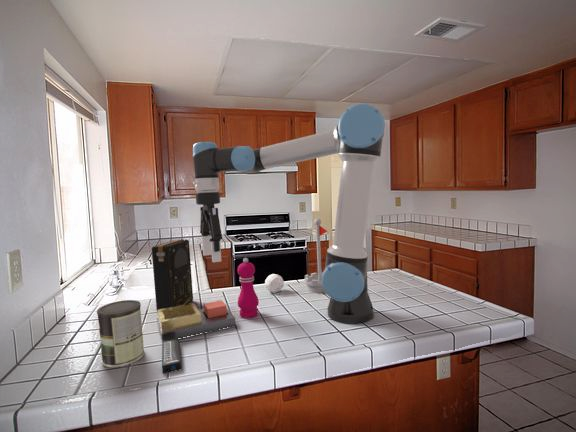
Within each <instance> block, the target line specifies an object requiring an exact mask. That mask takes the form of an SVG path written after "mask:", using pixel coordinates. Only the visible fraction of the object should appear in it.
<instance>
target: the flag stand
mask: <svg viewBox="0 0 576 432" xmlns="http://www.w3.org/2000/svg"><path fill="white" fill-rule="evenodd" d="M313 224H314V225H315V229H316V230H315V232H316V235H315V236H316V255H317V257H316V259H317V262H316V263H317V272H313V273H310V275H309V274H305V275H304V284H305V285H306V289H307V291H308V292H311V293H316V294H318V293H319V294H320V293H321V294H322V293H323V294H325V293H326V292H325V291H324V289H323V287H322V274H323V271H322V254H321V253H322V250H321V236H322V235H323V234H326V233H327V232H328V230H327V229H326V228H324V227H322V226H321V224H322V220H321V218H318V217H317V218H315V219H314V220H313Z"/></svg>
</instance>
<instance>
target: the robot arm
mask: <svg viewBox="0 0 576 432" xmlns="http://www.w3.org/2000/svg"><path fill="white" fill-rule="evenodd" d="M385 124H386V122H385V117H384V116H383V113H381V111H380V110H379V109H378V108H377V107H376V106H374V105H372V104H369V103H357V104H353V105H352V106H349V107H348V108H347V109H346V110H345V111H344V112H343V113H342V114H341V116H340V117H339V122H338V125H335V127H334V129H331V130H327V131H323V132H319V133H315V134H311V135H306V136H303V137H298V138H294V139H290V140H286V141H282V142H278V143H274V144H271V145H267V146H262V147H260V148H254V149H253V148H252V147H251V146H249V145H246V146H245V145H237V146H231V147H230V146H229V147H218V146H217V143H215V142H212V141H201V142H199V141H198V142H196V143H194V144H193V145H192V146H193V147H192V161H193V171H194V181H193V183H192V184H193V185H194V186H195V187H194V188H195V191H196V192H197V193H195V203H196V205H201V206H200V209H199V210H200V227H199V229H200V230H199V233H200V235H201V244H202V255H203V257H204V256H205V257H206V256H211V262H212V263H218V262H219V263H221V262H222V249H221V247H222V246H221V240H223V234H222V229H221V228H222V227H221V222H220V218H219V217H220V216H219V208H218V207H215V205H218V204H220V203H221V195H220V194H221V193H220V192H218V191H220V177H219V175H220V174H219V173H231V172H232V173H234V172H236V173H237V172H238V173H249V174H257V173H260V172H262V171H264V170H269V169H273V168H278V167H282V166H283V167H284V166H286V165H287V166H288V165H292V164H295V163H301V162H305V161H309V160H313V159H318V158H322V157H327V156H332V155H336V154H337V156H338V157H339V159H340V160H341V162H342V163H341V170H340V171H341V172H340V179H339V187H338V188H339V189H338V197H337V198H338V199H337V207H336V214H335V215H336V216H335V223H334V233H333V242H332V245H331V246H329V247H328V248H327V249H326V256H325V257H326V258H325V265H324V266H325V267H324V269H323V271H322V272H323V274H322V287H323V289H324V291H325V293H326V295H327V296H328V297H329V301H328V306H327V316H328V317H329V319H331V320H333V321H335V322H338V323H341V324H342V323H343V324H361V323H366V322H369V321H371V320H372V319H373V318H374V316H375V312H374V311H375V310H374V306H373V304H372V299H371V297H370V295H369V288H368V287H369V286H368V257H369V255H368V253H367V249H366V248H365V246H364V245H365V239H366V238H365V237H366V229H367V228H366V227H367V220H368V213H369V206H370V205H369V204H370V199H371V198H370V195H371V187H372V180H373V175H374V174H373V172H374V164H375V163H376V162H378V161H379V160H380V159H381V155H382V148H383V147H382V146H383V140H384V139H383V138H384V135H385V128H386V125H385Z"/></svg>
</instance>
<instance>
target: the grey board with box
mask: <svg viewBox="0 0 576 432" xmlns="http://www.w3.org/2000/svg"><path fill="white" fill-rule="evenodd" d="M156 322H157V329H159V330H158V332H160V333H159V336H161V337H160V339H161V340H162V341H161V343H162V342H163V341H167V340H172V339H178V338H183V337H187V336H191V335H196V334H200V333H205V332H210V331H215V330H219V329H223V328H227V327H232V326H236V317H235V316H234V315H233V313H232V312H231V311H230V310H229V309H228V308H227V314H226V315H222V316H217V317H212V318H208V317H207V315H206V314H205V313H204V307H203V308H199V309H198V307H197V306H196V304H195V303H193V302H190V303H189V304H186V305H181V306H175V307H170V308H165V309H160V310H158V312H157V317H156ZM232 328H233V327H232ZM227 329H228V328H227ZM223 330H224V329H223ZM219 331H220V330H219ZM215 332H216V331H215ZM210 333H211V332H210Z"/></svg>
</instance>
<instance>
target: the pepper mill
mask: <svg viewBox="0 0 576 432" xmlns="http://www.w3.org/2000/svg"><path fill="white" fill-rule="evenodd" d="M255 273H256V267H255V265H254V264H253V263H252V262H249V258H247V257H244V258H243V259H242V263H240V264H239V265H238V266H237V275H239V282H240V285H241V287H240V292H239V295H238V297H237V298H238V299H237V307H238V308H239V317H240V316H241V317H240V318H242V319H252V318H255V317H257V316H258V314H259V310H258V309H259V308H257V307H258V306H259V304H260V303H259V298H258V295H257V292H256V291H255V289H254V281H255V276H254V274H255Z"/></svg>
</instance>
